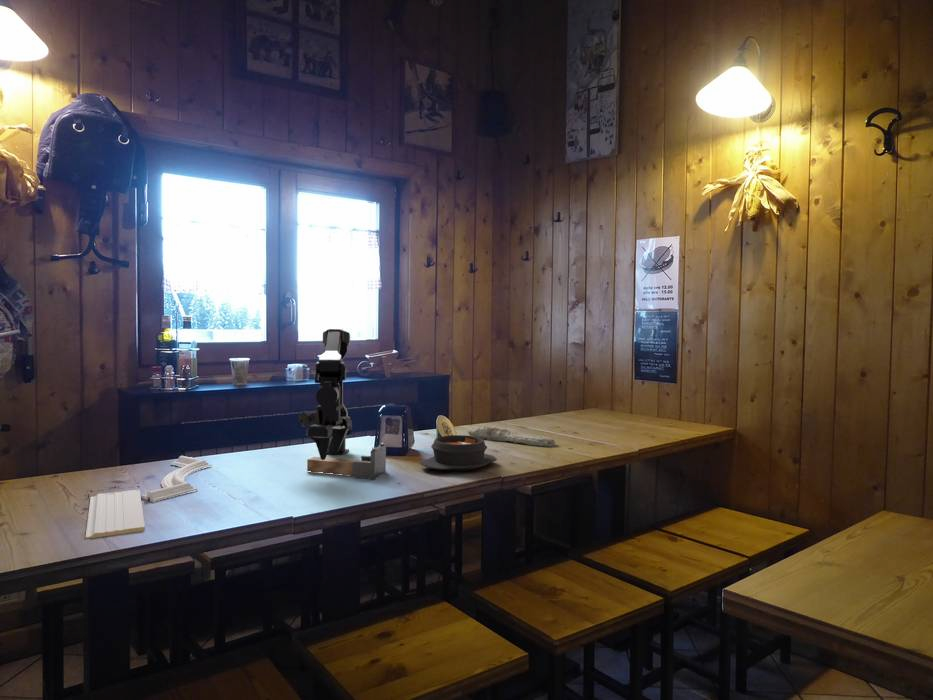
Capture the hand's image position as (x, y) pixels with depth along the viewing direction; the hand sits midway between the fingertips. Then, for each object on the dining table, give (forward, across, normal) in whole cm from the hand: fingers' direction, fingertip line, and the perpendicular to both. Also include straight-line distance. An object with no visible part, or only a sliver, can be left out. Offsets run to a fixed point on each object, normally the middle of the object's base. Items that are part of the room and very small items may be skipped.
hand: (329, 456), depth 180 cm
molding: (+6, +18, -38) cm, 42 cm away
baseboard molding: (+6, +46, -32) cm, 57 cm away
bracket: (+5, 0, +12) cm, 13 cm away
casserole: (+5, -16, +35) cm, 39 cm away
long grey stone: (+5, -61, +45) cm, 76 cm away
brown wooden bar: (+5, 0, +3) cm, 6 cm away
